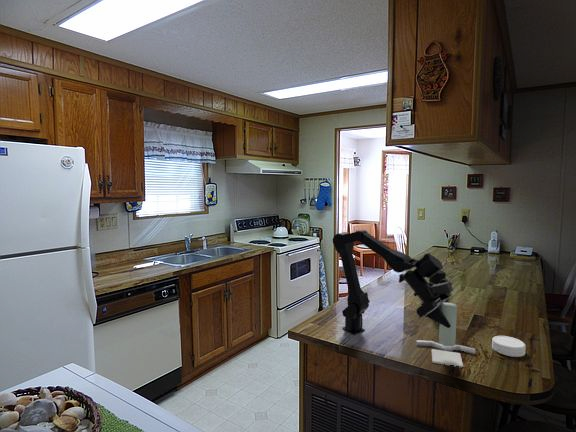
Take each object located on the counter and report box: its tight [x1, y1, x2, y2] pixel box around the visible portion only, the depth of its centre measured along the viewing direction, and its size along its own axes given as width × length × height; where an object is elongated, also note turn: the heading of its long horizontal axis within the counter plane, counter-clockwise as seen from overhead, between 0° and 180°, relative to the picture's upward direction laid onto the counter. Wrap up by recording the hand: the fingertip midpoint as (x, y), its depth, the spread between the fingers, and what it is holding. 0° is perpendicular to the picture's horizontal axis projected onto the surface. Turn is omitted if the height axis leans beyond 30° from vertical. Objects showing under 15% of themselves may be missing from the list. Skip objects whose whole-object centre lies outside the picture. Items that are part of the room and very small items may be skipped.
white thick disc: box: [491, 335, 526, 358], centre depth 122 cm, size 10×10×4 cm
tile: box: [431, 348, 464, 368], centre depth 116 cm, size 9×9×1 cm
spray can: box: [428, 269, 447, 285], centre depth 155 cm, size 7×7×20 cm
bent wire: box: [415, 339, 476, 355], centre depth 123 cm, size 19×4×2 cm, turn 70°
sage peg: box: [438, 302, 458, 346], centre depth 115 cm, size 5×5×13 cm
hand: (452, 324), depth 115 cm, fingers closed on sage peg, 5 cm apart
